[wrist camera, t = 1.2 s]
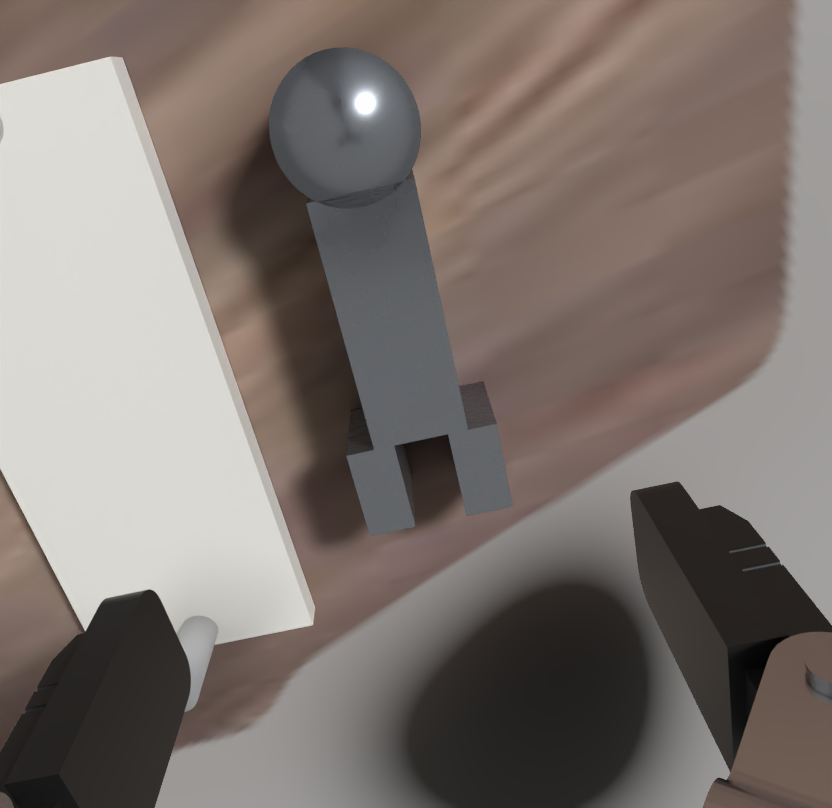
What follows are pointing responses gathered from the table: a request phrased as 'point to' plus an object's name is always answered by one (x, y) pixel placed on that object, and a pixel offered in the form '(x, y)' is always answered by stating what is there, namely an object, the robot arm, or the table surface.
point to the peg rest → (126, 379)
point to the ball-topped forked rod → (382, 280)
